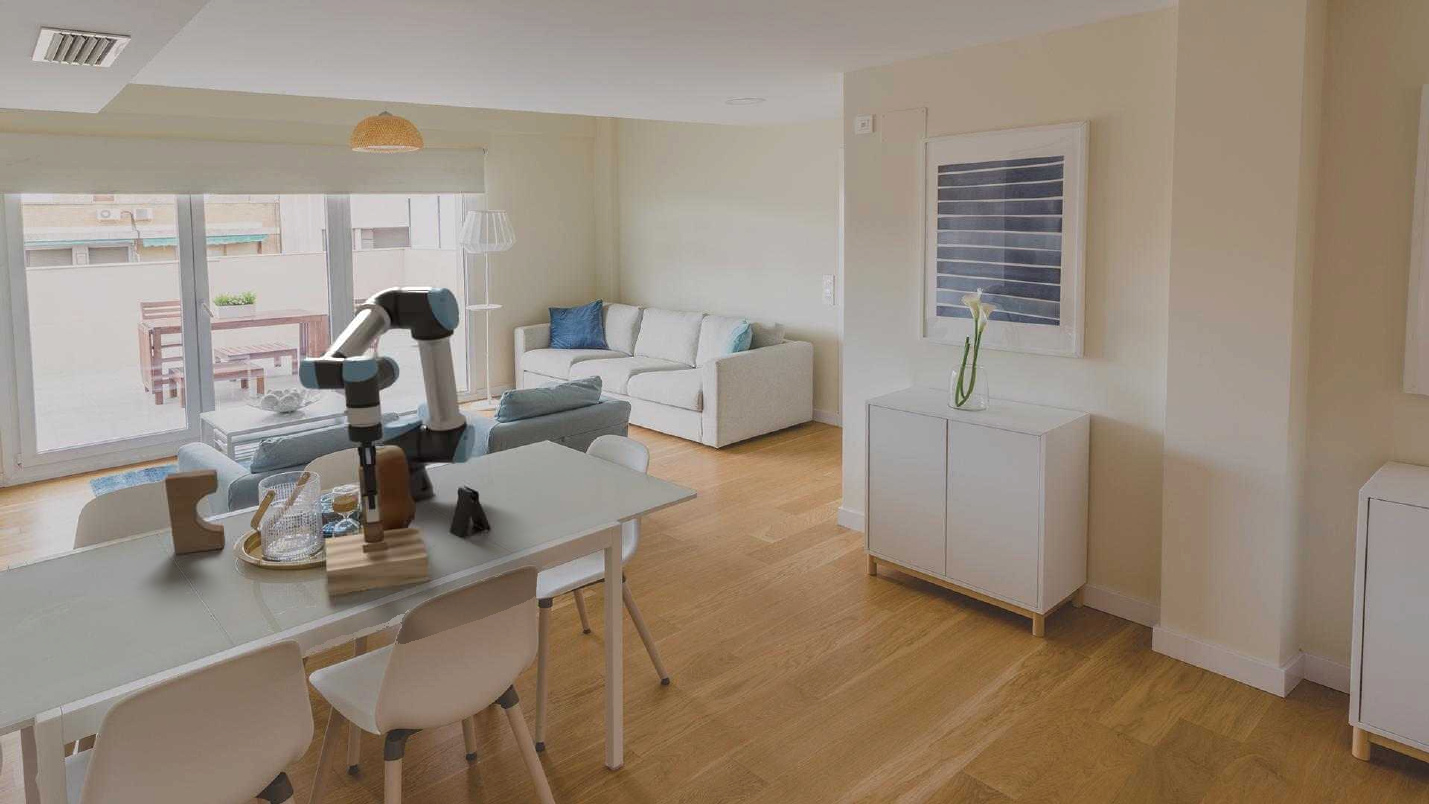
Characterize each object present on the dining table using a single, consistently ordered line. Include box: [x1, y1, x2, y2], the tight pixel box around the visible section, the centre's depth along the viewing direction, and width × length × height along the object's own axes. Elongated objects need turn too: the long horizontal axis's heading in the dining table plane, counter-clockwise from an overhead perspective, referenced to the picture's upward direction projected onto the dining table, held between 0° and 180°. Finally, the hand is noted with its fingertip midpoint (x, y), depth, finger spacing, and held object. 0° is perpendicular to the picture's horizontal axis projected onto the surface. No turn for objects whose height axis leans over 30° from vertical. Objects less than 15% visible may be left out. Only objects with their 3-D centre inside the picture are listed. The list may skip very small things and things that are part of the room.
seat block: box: [324, 526, 430, 597], centre depth 226 cm, size 22×22×6 cm
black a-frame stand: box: [449, 485, 492, 539], centre depth 252 cm, size 9×6×12 cm, turn 135°
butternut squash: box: [358, 445, 417, 531], centre depth 246 cm, size 14×13×25 cm
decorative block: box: [164, 468, 226, 555], centre depth 239 cm, size 11×6×20 cm, turn 111°
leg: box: [358, 466, 384, 543], centre depth 223 cm, size 4×4×18 cm
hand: (372, 517), depth 224 cm, fingers closed on leg, 4 cm apart
